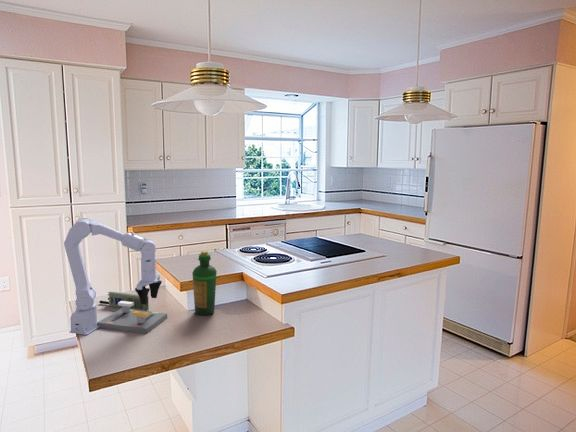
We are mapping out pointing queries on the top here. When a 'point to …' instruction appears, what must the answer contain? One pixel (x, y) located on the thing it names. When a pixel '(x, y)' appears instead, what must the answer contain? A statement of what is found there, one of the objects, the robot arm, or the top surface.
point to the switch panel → (131, 321)
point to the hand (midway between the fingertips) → (149, 300)
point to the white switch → (125, 306)
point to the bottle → (204, 285)
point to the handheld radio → (117, 297)
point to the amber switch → (140, 316)
